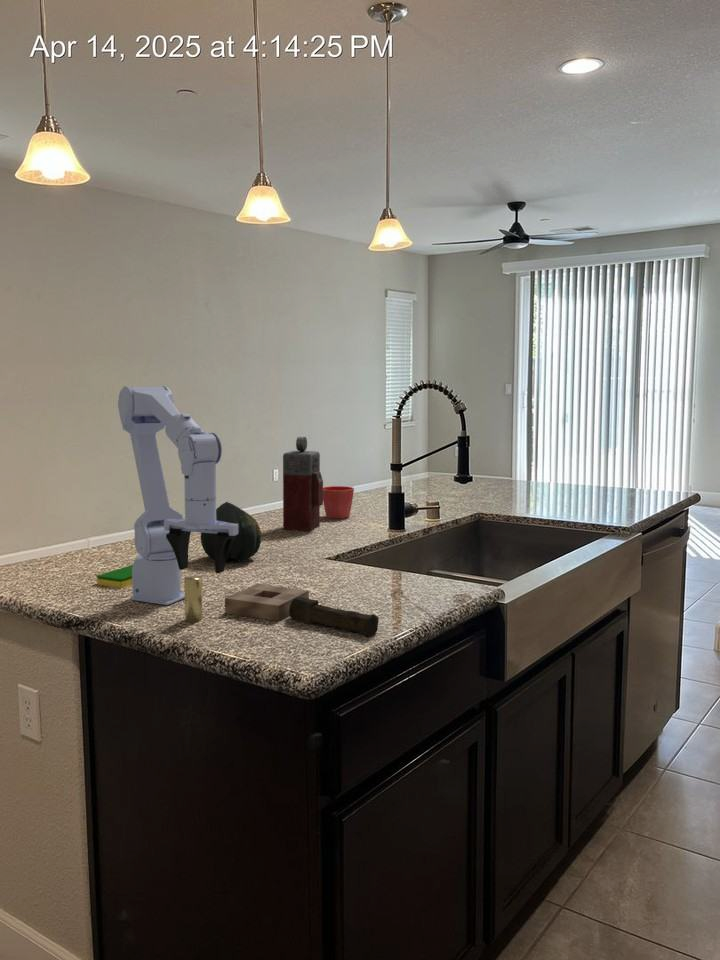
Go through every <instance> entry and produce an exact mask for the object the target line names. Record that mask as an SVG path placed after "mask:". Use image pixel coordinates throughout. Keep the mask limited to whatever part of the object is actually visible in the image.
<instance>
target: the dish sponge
mask: <svg viewBox="0 0 720 960" xmlns="http://www.w3.org/2000/svg"><path fill="white" fill-rule="evenodd" d="M132 567H133V564H131V565H128V566H127V565H126V566H124V567H121V568H118V569H115V570H112V571H108V572H105V573H102V574H98V575H96V584H97V585H98V586H103V585H104V587H112V588H119V589H123V588H127V587H129V586H132Z"/></svg>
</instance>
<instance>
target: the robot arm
mask: <svg viewBox="0 0 720 960" xmlns="http://www.w3.org/2000/svg"><path fill="white" fill-rule="evenodd" d="M117 408H118V412H119V413H118V414H119V417H120V423H121V427H122V430H124V431H125V432H127V433H129V435H130V440H131V445H132V451H133V455H134V460H135V466H136V470H137V475H138V480H139V487H140V492H141V496H142V501H143V507H144V512H143V513H141V515H140V516H139V517H137V519H136V520H135V521H134V525H133V530H134V538H133V539H134V547H135V551H136V552H137V554H138V556H137V557H136V558H135V559H134V561H133V564H132V565H133V567H132V585H131V586H132V596H130V597H129V600H131V601H137V602H143V603H144V602H145V603H151V604H157V605H163V606H164V605H165V606H169V605H171V604H173V603H177V602H178V601H180V600H181V601H182V600H185V592H182V571H183V570H185V569H187V568H189V546H190V539H191V538H190V537H191V534H192V533H201V532H202V533H214V534H217V535H216V536H214V537H211V540H212V543H213V548H214V555H215V561H214V571H215V574H221V573H223V572H224V570H225V567H226V562H227V560H228V559H227V555H228V552H229V550H230V548H231V545H232V543H233V541H234V540H235V538H236V535H237V534H238V524H234V523H227V522H222V521H216V509H217V467H216V464H218V463H219V462H220V461H221V460H222V459H221V458H222V453H223V448H222V442H221V440H220V438H219V436H218V435H217V433H216V432H205V431H204V430H203V428H201V426H200V425H199V424H198V423H197V422H196V421H195V420H194V419H193V418H192V417H191V415H190V413H180V411H179V410H178V409H177V407H176V406H175V404H174V396H173V392H172V391H171V390H170V388H169V387H168V386H163V385H162V386H129V385H125V386H122V388H121V390H120V391H119V395H118V401H117ZM163 429H164V431H165V432H164V433H165V435H166V436H167V437H168V439H169V440H170V441H171V442H172V443H173V445H174V446H175V447H176V448H177V454H178V459H179V462H180V470H181V474H182V475H184V476H183V477H184V517H183V513H180V512H179V511H178V510H176V509H174V508H173V507H171V506H170V502H169V498H168V497H169V496H168V492H167V489H166V482H165V477H164V472H163V468H162V462H161V457H160V453H159V448H158V442H157V437H156V435H157V433H158V432H160V431H161V430H163ZM206 529H208V530H206ZM226 559H227V560H226Z"/></svg>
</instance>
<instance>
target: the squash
mask: <svg viewBox="0 0 720 960" xmlns="http://www.w3.org/2000/svg"><path fill="white" fill-rule="evenodd" d="M216 521H222V522H227V523H234V524H238V534H237V535H236V538H235V540H234V541H233V543H232V545H231V548H230V550H229V552H228V555H227V559H226V561H227V560H229V559H230V558H231V559H235V560H236V561H239V562H242V563H243V562H246V561H248V560H249V559H251V558H252V557H254V556H255V555H256V554H257V552H259V549H260V547H261V542H262V531H261V528H260V525H259V523H258V521H257V520H256V519H255V518H254V517H253V516H252V515H251V514H249V513H248V512H246V511H245V510H243V509H241V508H240V507H238V506H237V505H235V504H232V503H231V502H229V501H225V502H224V503H222V504H220V505H219V506H218V507H216ZM206 530H208V529H206ZM216 535H217V534H214V533H202V532H200V543H201V546H202V549H203V551H204V553H205V554H206V555H207V557H209V558H210V559H211V560H212V561H214V562H215V555H214V548H213V543H212V540H211V537H214V536H216Z"/></svg>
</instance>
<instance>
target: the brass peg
mask: <svg viewBox="0 0 720 960" xmlns="http://www.w3.org/2000/svg"><path fill="white" fill-rule="evenodd" d="M183 579H184V582H183V583H184V588H183V589H184V593H185V598H184V621H185V622H187V621H188V622H187V623H198V622H200V621H203V579H202V576H198V575H190V576H189V575H188V576H185V577H184V578H183Z"/></svg>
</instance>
